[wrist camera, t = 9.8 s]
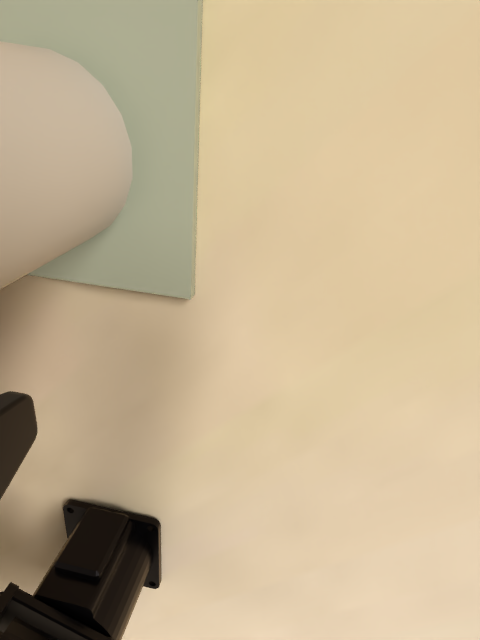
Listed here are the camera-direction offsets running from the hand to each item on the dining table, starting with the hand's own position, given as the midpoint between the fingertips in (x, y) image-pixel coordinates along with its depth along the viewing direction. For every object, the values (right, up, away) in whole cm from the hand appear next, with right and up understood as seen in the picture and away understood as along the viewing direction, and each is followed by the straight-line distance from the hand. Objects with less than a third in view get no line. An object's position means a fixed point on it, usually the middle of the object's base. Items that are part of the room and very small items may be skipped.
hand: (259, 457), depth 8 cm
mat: (-8, +10, +12) cm, 17 cm away
